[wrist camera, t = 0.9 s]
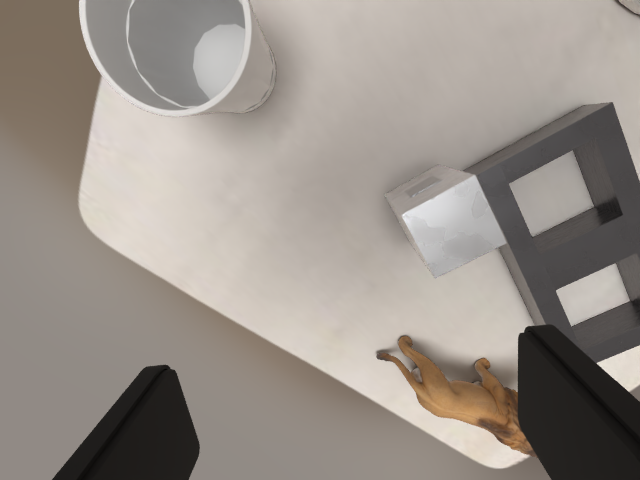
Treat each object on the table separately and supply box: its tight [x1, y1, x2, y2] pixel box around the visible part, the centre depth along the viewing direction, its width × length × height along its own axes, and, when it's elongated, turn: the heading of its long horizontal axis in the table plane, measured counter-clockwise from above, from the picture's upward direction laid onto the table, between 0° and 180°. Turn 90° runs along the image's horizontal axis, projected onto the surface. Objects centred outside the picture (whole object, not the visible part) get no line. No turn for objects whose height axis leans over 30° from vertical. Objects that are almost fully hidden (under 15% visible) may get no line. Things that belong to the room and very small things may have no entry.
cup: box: [79, 0, 276, 117], centre depth 22 cm, size 8×8×12 cm
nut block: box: [384, 165, 507, 278], centre depth 26 cm, size 5×5×8 cm
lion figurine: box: [376, 336, 538, 458], centre depth 30 cm, size 15×5×9 cm, turn 81°
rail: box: [463, 102, 640, 363], centre depth 29 cm, size 10×20×3 cm, turn 30°
